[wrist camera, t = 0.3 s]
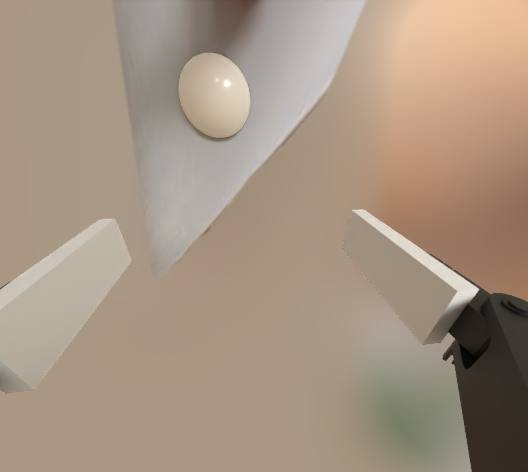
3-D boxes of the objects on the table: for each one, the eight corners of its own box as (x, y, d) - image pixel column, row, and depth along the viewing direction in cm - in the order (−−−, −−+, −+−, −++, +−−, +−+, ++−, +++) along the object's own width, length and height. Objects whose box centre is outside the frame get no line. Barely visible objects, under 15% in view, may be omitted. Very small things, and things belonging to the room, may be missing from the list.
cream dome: (220, 31, 25) (218, 30, 24) (263, 111, 30) (263, 113, 29) (165, 85, 28) (162, 86, 27) (213, 148, 34) (212, 150, 33)
